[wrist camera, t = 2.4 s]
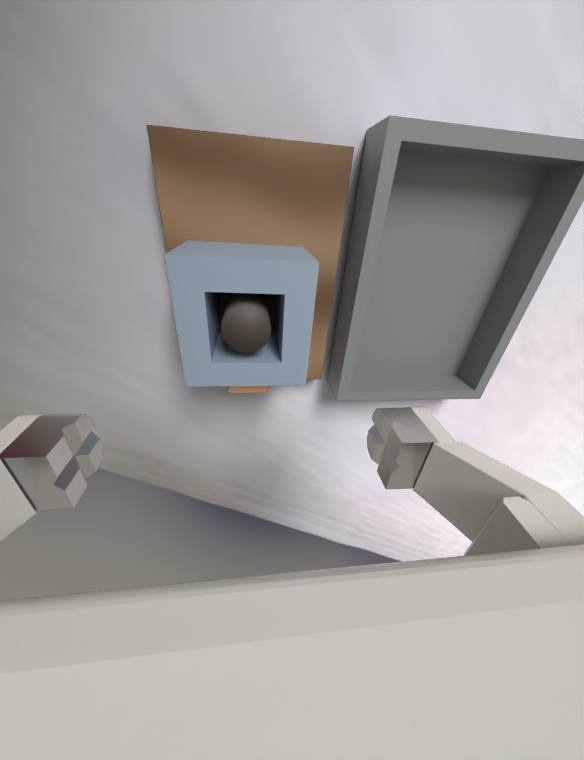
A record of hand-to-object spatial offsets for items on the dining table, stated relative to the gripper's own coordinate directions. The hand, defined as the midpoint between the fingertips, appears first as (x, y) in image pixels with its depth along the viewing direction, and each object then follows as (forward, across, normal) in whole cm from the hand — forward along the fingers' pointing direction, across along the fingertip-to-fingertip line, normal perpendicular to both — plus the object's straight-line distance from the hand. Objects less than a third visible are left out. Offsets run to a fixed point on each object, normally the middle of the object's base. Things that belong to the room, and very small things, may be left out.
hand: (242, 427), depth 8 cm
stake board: (+13, 0, -2) cm, 13 cm away
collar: (+12, 0, -1) cm, 12 cm away
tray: (+13, -12, -2) cm, 18 cm away
